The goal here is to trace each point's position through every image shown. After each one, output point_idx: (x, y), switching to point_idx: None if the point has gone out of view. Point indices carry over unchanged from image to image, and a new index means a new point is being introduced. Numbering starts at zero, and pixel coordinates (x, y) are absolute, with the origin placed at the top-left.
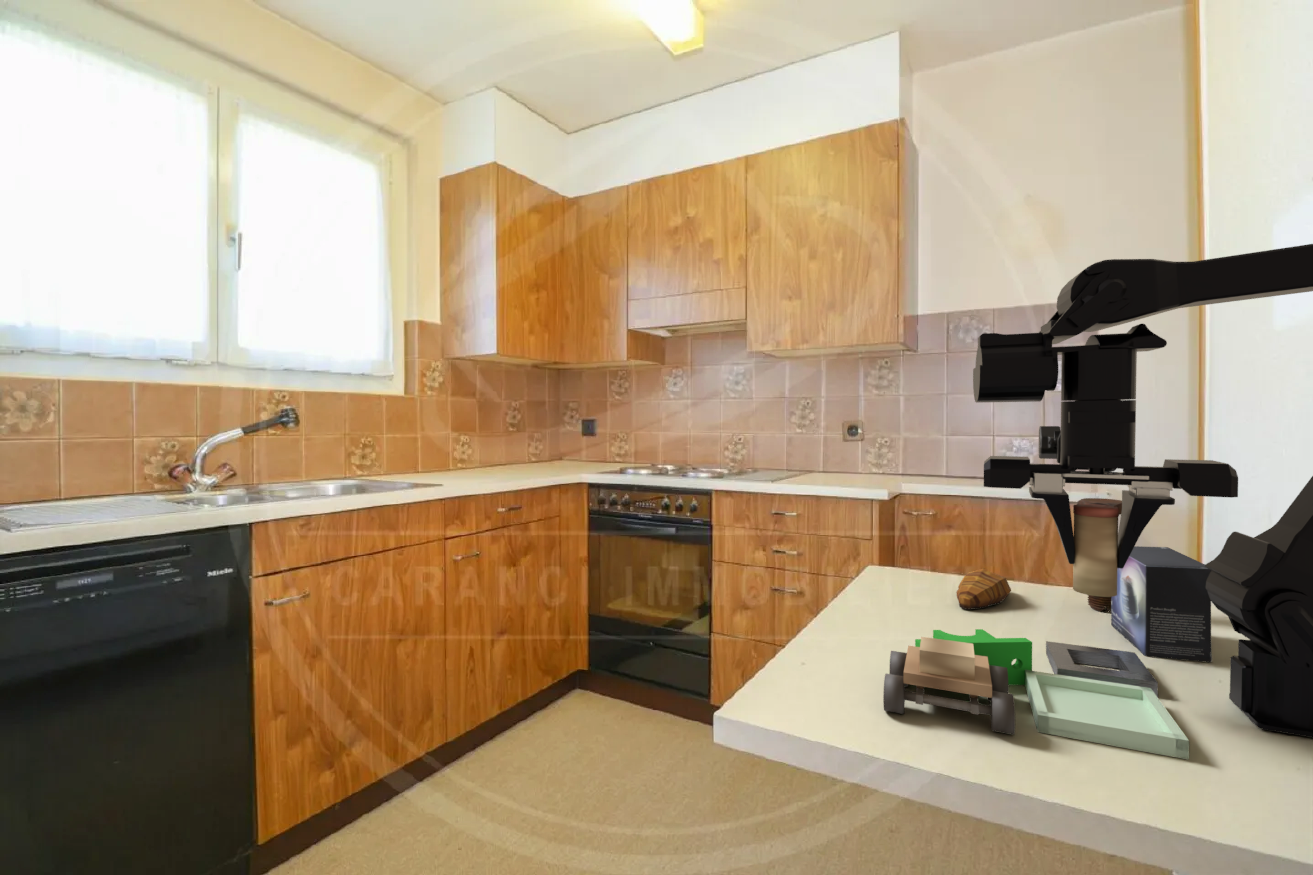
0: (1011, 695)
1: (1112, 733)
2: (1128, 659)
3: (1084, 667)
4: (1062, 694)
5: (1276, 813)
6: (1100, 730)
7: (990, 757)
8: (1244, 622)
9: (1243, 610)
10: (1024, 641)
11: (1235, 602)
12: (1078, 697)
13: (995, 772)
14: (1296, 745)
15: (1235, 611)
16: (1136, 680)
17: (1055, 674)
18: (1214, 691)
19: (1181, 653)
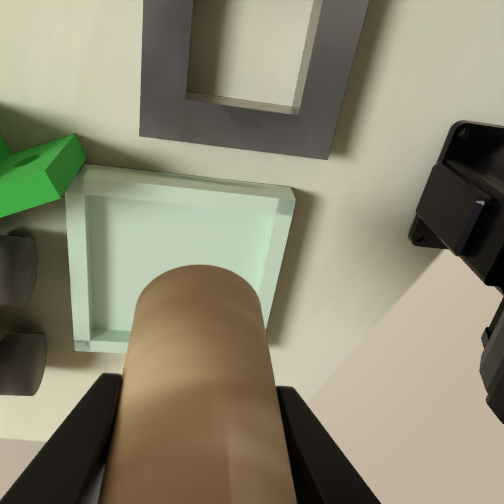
0: (24, 387)
1: None
2: (336, 15)
3: (203, 113)
4: (134, 224)
5: None
6: None
7: (19, 400)
8: (484, 356)
9: (487, 396)
10: (41, 200)
11: (502, 383)
12: (160, 230)
13: (26, 422)
14: (422, 266)
15: (493, 358)
16: (291, 153)
17: (127, 182)
18: (454, 82)
19: None
